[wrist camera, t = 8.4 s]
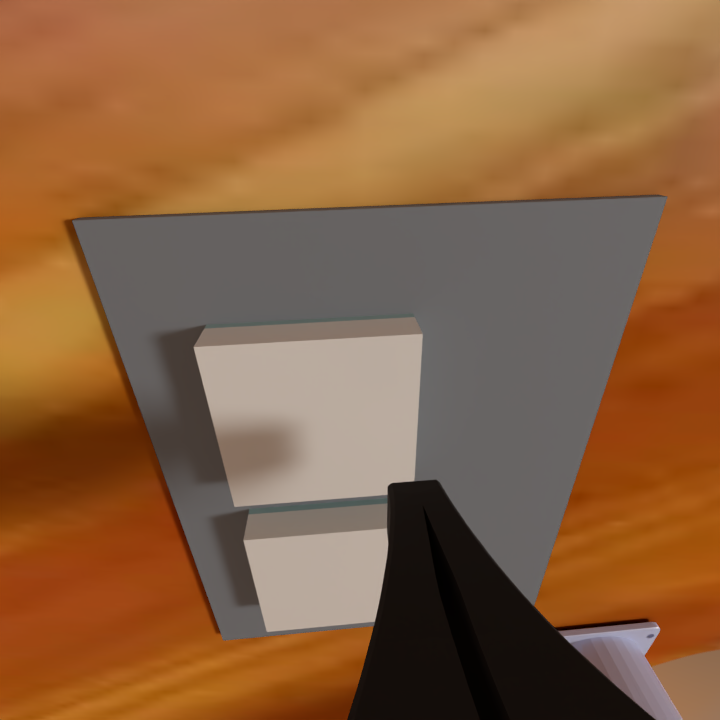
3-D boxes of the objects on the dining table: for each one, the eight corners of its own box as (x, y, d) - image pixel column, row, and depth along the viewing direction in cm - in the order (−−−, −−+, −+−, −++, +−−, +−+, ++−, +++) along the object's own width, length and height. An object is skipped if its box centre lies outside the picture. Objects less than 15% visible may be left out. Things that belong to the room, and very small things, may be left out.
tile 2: (413, 492, 16) (234, 507, 16) (406, 463, 18) (241, 476, 17) (422, 333, 13) (193, 347, 12) (413, 313, 14) (206, 324, 14)
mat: (529, 603, 25) (532, 610, 24) (224, 633, 24) (223, 640, 23) (658, 194, 13) (667, 196, 13) (79, 218, 12) (71, 220, 12)
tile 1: (406, 618, 21) (266, 632, 20) (401, 587, 22) (270, 599, 22) (412, 526, 17) (243, 540, 17) (405, 496, 19) (249, 509, 18)
